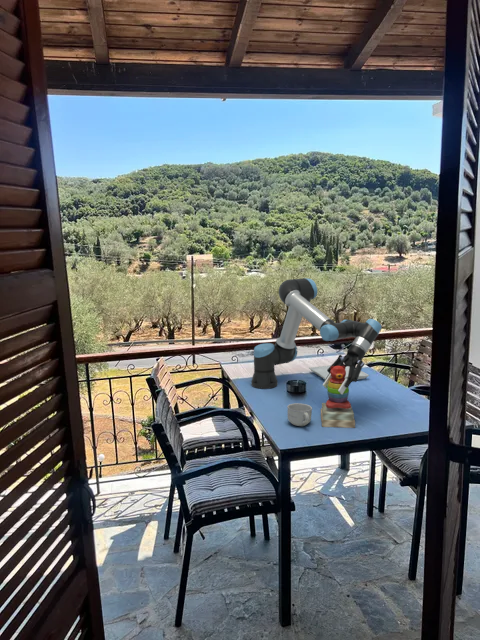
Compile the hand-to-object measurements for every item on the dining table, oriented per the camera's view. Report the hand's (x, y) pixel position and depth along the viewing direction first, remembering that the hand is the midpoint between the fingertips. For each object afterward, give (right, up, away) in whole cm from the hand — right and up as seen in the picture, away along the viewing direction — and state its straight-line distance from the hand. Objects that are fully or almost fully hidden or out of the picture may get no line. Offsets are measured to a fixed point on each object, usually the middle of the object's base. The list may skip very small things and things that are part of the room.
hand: (332, 389), depth 188 cm
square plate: (+19, -4, +72) cm, 74 cm away
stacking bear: (+3, -7, +3) cm, 8 cm away
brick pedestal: (+3, -15, +4) cm, 16 cm away
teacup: (-14, -16, +1) cm, 21 cm away
